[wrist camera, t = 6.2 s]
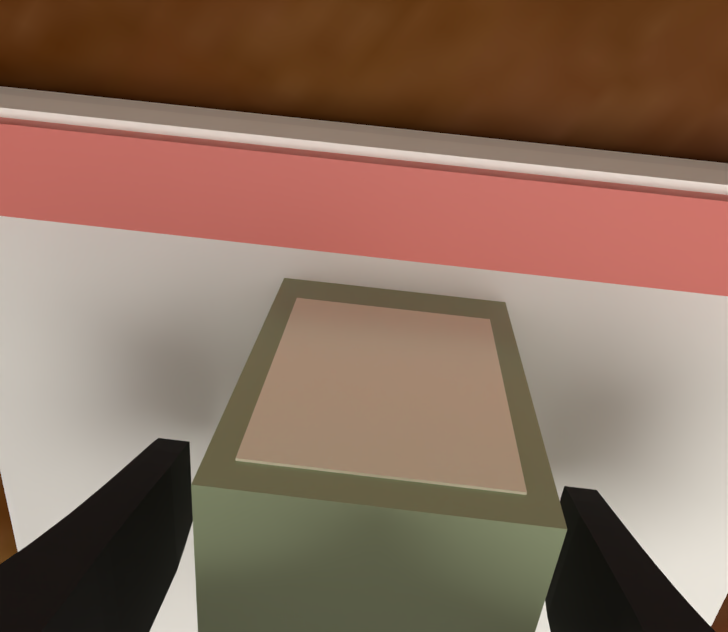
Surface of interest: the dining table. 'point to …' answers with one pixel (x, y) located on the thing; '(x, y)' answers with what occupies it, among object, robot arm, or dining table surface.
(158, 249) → the shelf board
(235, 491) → the carton
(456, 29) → the dining table surface
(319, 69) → the dining table surface
